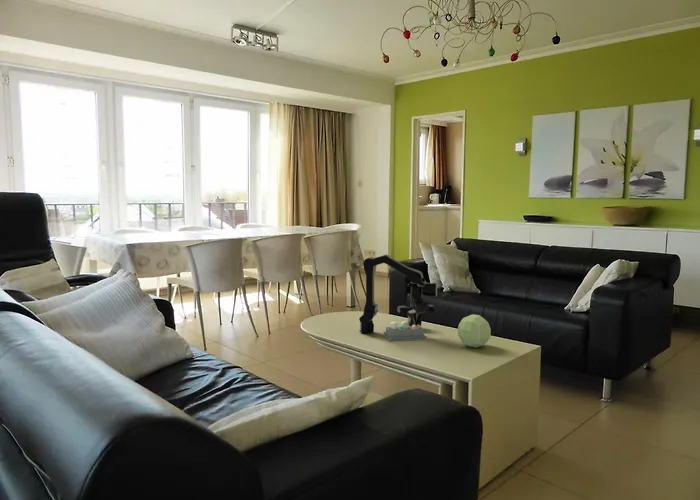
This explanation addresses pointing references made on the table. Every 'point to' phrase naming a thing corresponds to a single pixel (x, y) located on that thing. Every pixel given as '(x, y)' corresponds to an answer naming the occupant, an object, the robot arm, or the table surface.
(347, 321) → the table surface
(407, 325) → the sage button
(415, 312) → the coffee mug
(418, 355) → the table surface
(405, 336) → the grey compartment tray
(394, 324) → the ivory button
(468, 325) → the decorative sphere
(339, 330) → the table surface
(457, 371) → the table surface
